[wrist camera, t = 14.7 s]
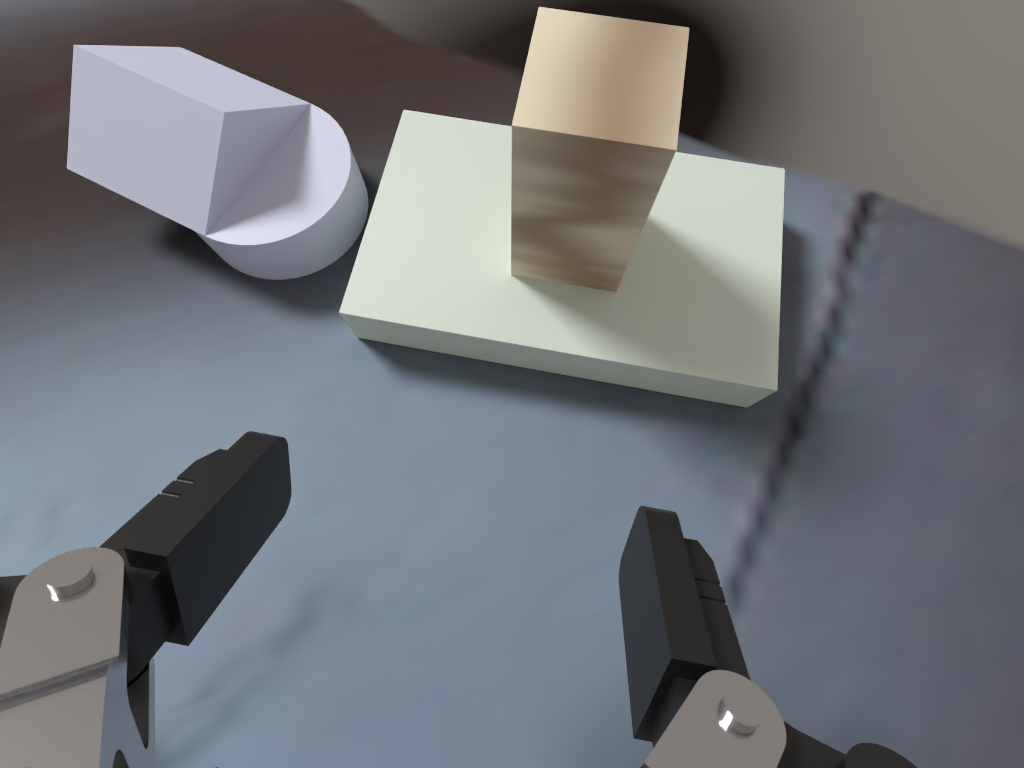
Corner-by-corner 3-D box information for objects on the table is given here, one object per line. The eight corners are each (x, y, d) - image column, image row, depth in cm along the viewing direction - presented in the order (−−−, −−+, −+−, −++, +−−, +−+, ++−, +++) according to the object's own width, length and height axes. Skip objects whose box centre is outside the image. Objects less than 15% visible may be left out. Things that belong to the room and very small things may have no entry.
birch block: (510, 274, 24) (512, 125, 15) (528, 187, 25) (539, 7, 17) (615, 292, 24) (676, 150, 15) (627, 203, 25) (689, 27, 17)
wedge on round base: (116, 210, 29) (310, 306, 27) (2, 114, 22) (247, 232, 20) (214, 98, 31) (397, 180, 29) (137, -18, 25) (366, 78, 23)
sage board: (357, 337, 26) (338, 312, 23) (413, 151, 30) (403, 109, 27) (746, 407, 25) (777, 390, 22) (757, 206, 29) (784, 169, 26)
